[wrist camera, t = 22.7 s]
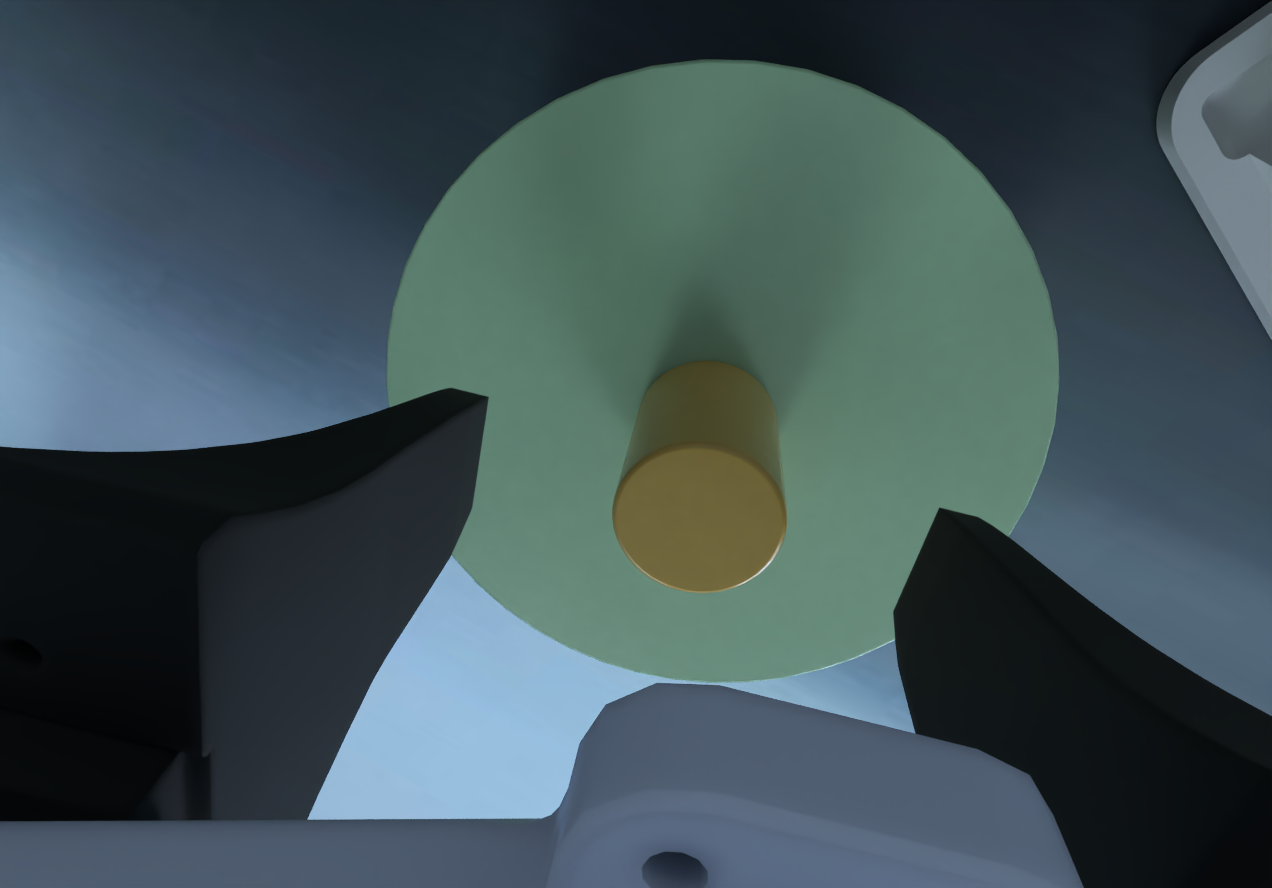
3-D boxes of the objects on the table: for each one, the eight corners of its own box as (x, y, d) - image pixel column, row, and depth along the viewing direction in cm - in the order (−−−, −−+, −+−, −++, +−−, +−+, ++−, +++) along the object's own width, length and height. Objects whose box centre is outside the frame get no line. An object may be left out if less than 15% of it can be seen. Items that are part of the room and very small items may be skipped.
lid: (383, 577, 19) (282, 724, 15) (441, -20, 14) (308, -54, 9) (901, 706, 19) (947, 891, 15) (1166, 157, 14) (1358, 202, 9)
